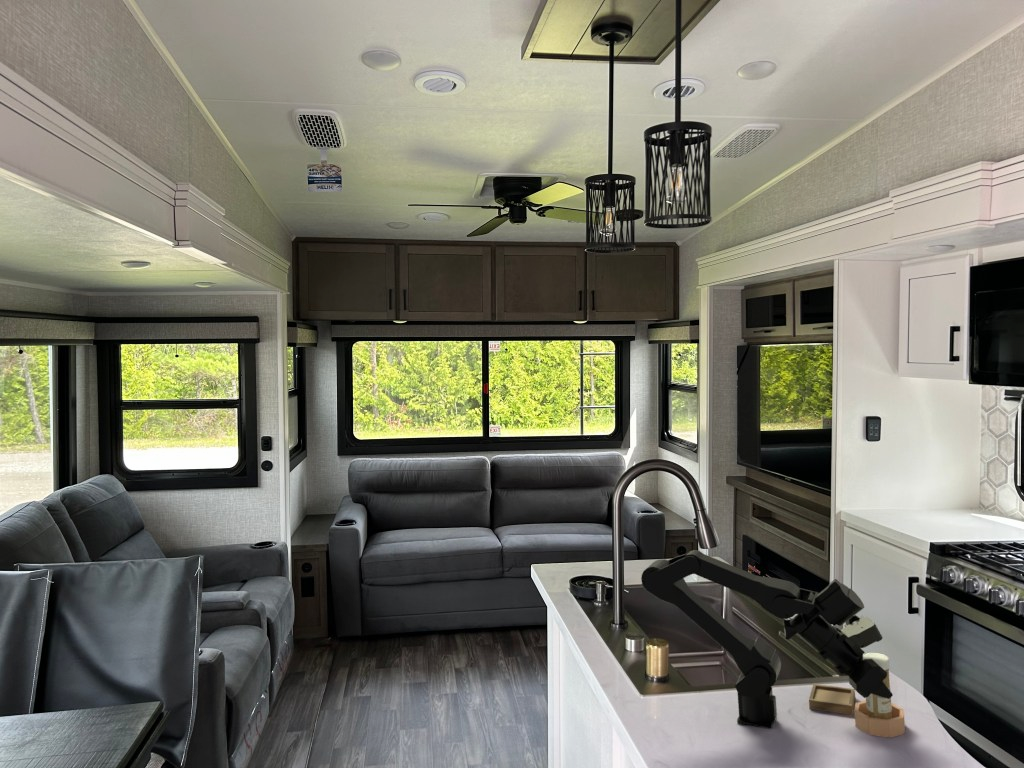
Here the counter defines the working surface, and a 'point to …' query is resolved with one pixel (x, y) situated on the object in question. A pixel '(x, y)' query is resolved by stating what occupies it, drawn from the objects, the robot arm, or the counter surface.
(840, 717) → the counter surface
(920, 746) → the counter surface
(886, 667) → the sprinkles bottle
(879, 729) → the holder ring
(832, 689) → the walnut tray
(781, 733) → the counter surface
